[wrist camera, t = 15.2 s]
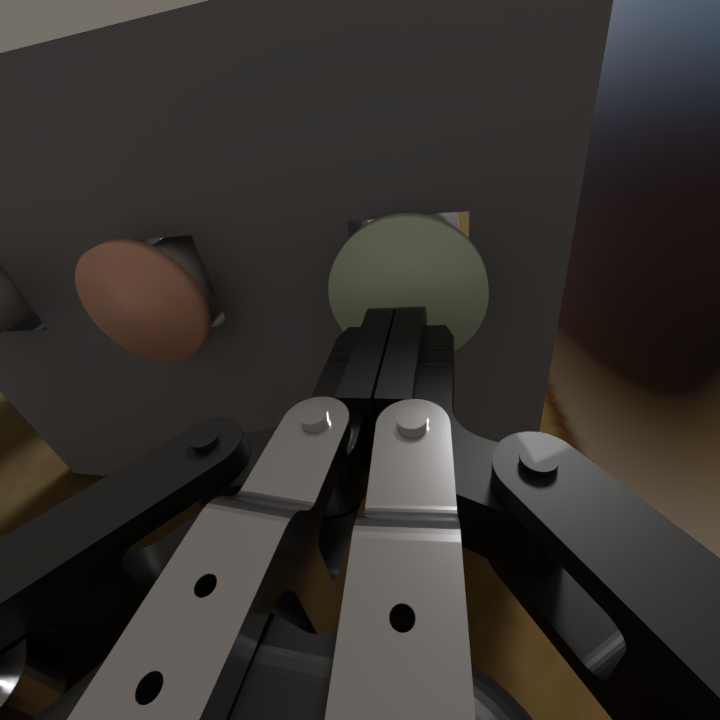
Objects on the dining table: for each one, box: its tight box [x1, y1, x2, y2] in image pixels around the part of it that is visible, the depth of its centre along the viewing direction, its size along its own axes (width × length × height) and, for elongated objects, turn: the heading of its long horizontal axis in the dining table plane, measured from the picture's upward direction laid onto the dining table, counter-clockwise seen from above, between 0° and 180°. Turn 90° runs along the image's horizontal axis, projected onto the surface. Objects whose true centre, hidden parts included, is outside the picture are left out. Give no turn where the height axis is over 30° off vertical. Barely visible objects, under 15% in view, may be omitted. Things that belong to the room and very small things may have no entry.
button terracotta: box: [75, 235, 216, 362], centre depth 17 cm, size 7×5×5 cm
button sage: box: [328, 212, 489, 351], centre depth 15 cm, size 7×5×5 cm
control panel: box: [0, 0, 613, 489], centre depth 21 cm, size 8×30×22 cm, turn 78°
